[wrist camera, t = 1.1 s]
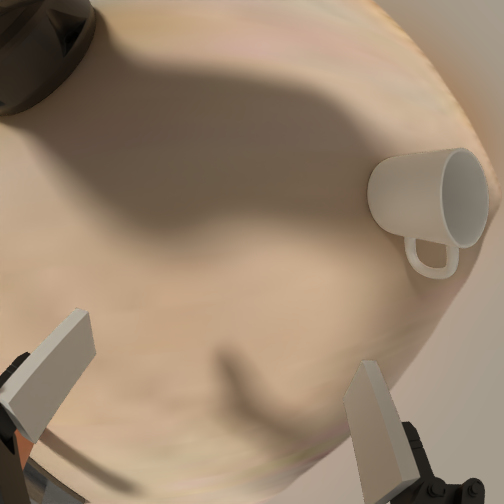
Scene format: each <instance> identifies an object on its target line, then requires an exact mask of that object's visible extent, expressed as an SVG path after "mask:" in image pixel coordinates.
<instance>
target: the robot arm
mask: <svg viewBox="0 0 504 504" xmlns="http://www.w3.org/2000/svg"><path fill="white" fill-rule="evenodd" d="M95 24H96V18H95V13H94V10H93V8H92V6H91V3H90V1H89V0H0V115H12V114H16V113H19V112H22V111H24V110H26V109H28V108H30V107H32V106H34V105H35V104H37V103H38V102H40V101H41V100H43V99H44V98H45V97H47V96H48V95H49V94H51V93H52V92H53V91H54V90H55V89H56V88H57V87H58V86H59V85H60V84H61V83H62V82H63V81H64V80H65V79H66V78H67V77H68V76H69V75H70V74H71V72H72V71H73V70H74V69H75V68H76V66H77V65H78V63H79V62H80V61H81V59H82V58H83V56H84V54H85V53H86V51H87V49H88V47H89V45H90V43H91V40H92V38H93V35H94V31H95ZM95 355H96V350H95V345H94V340H93V335H92V329H91V323H90V317H89V312H88V311H85V310H82V309H79V308H76V309H75V310H74V311H73V312H72V313H71V314H70V315H69V316H68V317H67V318H66V319H65V320H64V321H63V322H62V323H61V324H60V325H59V326H58V327H57V328H56V329H55V330H54V331H53V332H52V333H51V334H50V335H49V336H48V337H47V338H46V339H45V340H44V341H43V342H42V343H41V344H40V345H39V346H38V347H37V348H36V349H35V350H34V351H33V352H32V353H31V354H30V353H28V352H26V353H24V354H22V355H20V356H18V357H17V358H16V359H15V360H14V361H13V362H12V364H11V365H10V366H9V367H8V368H7V369H6V371H4V372H3V373H2V374H1V376H0V504H31V501H30V498H29V494H28V491H27V487H26V483H25V479H24V475H23V471H22V466H21V461H20V456H19V450H18V444H17V437H16V434H15V433H14V432H15V431H16V429H18V431H19V432H20V433H21V435H22V436H23V437H24V438H26V439H28V440H29V441H31V442H32V443H34V444H36V442H37V441H38V439H39V437H40V436H41V434H42V433H43V431H44V430H45V428H46V426H47V425H48V423H49V422H50V420H51V419H52V417H53V416H54V414H55V413H56V411H57V409H58V408H59V406H60V405H61V403H62V402H63V401H64V399H65V398H66V396H67V395H68V393H69V392H70V390H71V389H72V387H73V386H74V385H75V383H76V382H77V380H78V379H79V377H80V376H81V375H82V373H83V372H84V370H85V369H86V368H87V366H88V365H89V363H90V362H91V361H92V359H93V358H94V357H95ZM343 402H344V406H345V410H346V415H347V419H348V423H349V428H350V432H351V437H352V441H353V446H354V451H355V456H356V460H357V465H358V470H359V475H360V481H361V486H362V491H363V497H364V502H365V504H386V503H388V502H389V501H390V504H484V498H485V489H484V485H483V483H482V482H481V481H480V480H479V479H477V478H470V479H468V480H467V481H466V482H464V483H463V484H462V485H461V484H460V485H459V484H446V483H445V482H444V481H443V480H442V479H440V478H437V477H435V476H434V474H433V472H432V469H431V466H430V464H429V461H428V458H427V455H426V453H425V450H424V448H423V445H422V442H421V441H420V437H419V435H418V432H417V430H416V428H415V427H414V426H413V425H412V424H411V423H410V422H401V420H400V418H399V415H398V413H397V410H396V408H395V405H394V402H393V400H392V397H391V395H390V392H389V390H388V388H387V385H386V383H385V380H384V378H383V376H382V373H381V371H380V369H379V366H378V364H377V362H376V361H375V360H362V361H361V363H360V365H359V367H358V369H357V371H356V373H355V376H354V377H353V379H352V381H351V383H350V385H349V387H348V389H347V391H346V393H345V395H344V397H343Z"/></svg>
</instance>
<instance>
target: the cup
mask: <svg viewBox="0 0 504 504" xmlns="http://www.w3.org/2000/svg"><path fill="white" fill-rule="evenodd" d="M367 199H368V205H369V209H370V212H371V214H372V216H373V218H374V220H375V221H376V222H377V224H378V225H379V226H380V227H381V228H382V229H384V230H385V231H387V232H389V233H392V234H395V235H400V236H404V244H405V252H406V256H407V259H408V261H409V263H410V265H411V266H412V267H413V269H414V270H415V271H417V272H418V273H419V274H421V275H423V276H425V277H428V278H432V279H446V278H449V277H450V276H452V275H453V274H454V273H455V271H456V269H457V266H458V261H459V248H469V247H471V246H473V245H474V244H475V243H476V242H477V241H478V240H479V238H480V237H481V235H482V233H483V231H484V228H485V225H486V221H487V217H488V210H489V193H488V185H487V181H486V177H485V174H484V171H483V168H482V166H481V164H480V162H479V161H478V159H477V158H476V157H475V155H474V154H473V153H472V152H470V151H469V150H467V149H464V148H454V149H446V150H437V151H430V152H422V153H415V154H408V155H402V156H396V157H391V158H388V159H385V160H383V161H382V162H380V163H379V164H378V165H377V166H376V167H375V169H374V170H373V172H372V174H371V176H370V179H369V182H368V188H367ZM416 239H420V240H425V241H430V242H435V243H440V244H445V245H446V254H447V262H446V266H445V267H442V268H432V267H429V266H426V265H425V264H423V263H422V262H421V261H420V260H419V258H418V256H417V253H416Z"/></svg>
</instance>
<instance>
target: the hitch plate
mask: <svg viewBox="0 0 504 504" xmlns="http://www.w3.org/2000/svg"><path fill="white" fill-rule="evenodd" d="M23 475H24V479H25V483H26V487H27V491H28V494H29V498H30V501H31V504H84V502H85V499H84V498H82V497H81V496H79V495H78V494H76V493H75V492H73V491H72V490H70V489H69V488H68V487H66V486H65V485H63V484H62V483H61V482H59V481H58V480H57V479H55V478H54V477H53V476H51V475H50V474H49V473H48V472H46V471H45V470H44V469H43V468H42V467H40V466H39V465H38V464H37V463H36V462H34V461H33V460H32V459H31V458H30V457H28V459H27V462H26V464H25V467H24V469H23Z"/></svg>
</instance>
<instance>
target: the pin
mask: <svg viewBox="0 0 504 504" xmlns="http://www.w3.org/2000/svg"><path fill="white" fill-rule="evenodd" d="M14 433H15V434H16V437H17V444H18V450H19V456H20V461H21V466H22V471H23V469H24V467H25V464H26V462H27V459H28V457H29V455H30V452H31V450H32V448H33V445H34V443H32V442H31V441H29V440H28V439H26V438H24V437H23V436H22V435H21V433H20V432H19V431H18V429H16V431H15V432H14Z"/></svg>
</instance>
